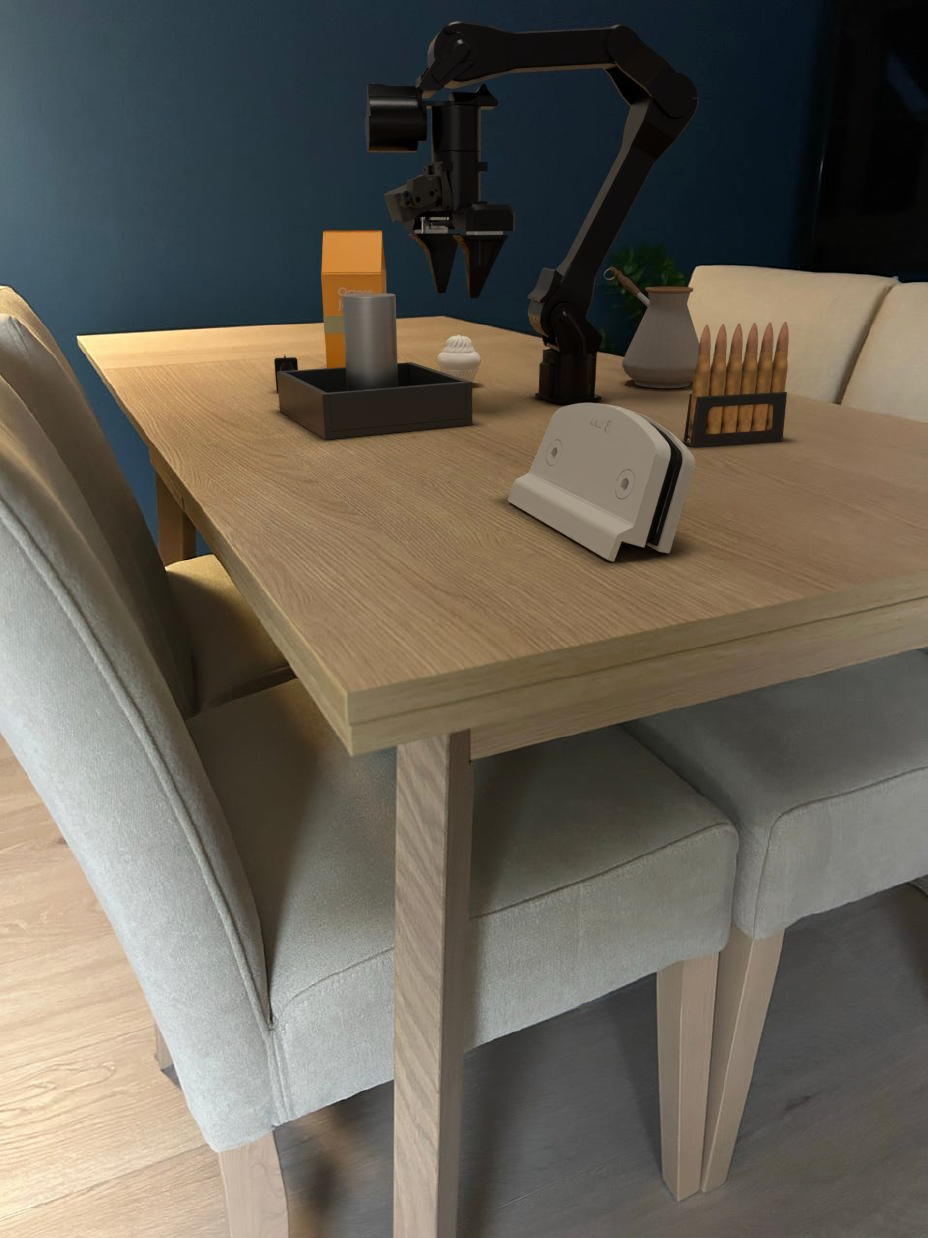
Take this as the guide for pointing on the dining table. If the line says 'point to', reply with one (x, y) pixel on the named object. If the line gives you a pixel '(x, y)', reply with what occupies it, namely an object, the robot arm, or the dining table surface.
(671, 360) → the coffee pot
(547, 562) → the dining table surface
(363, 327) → the metal can
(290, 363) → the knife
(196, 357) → the dining table surface
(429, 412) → the bin
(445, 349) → the muffin
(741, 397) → the ammunition clip
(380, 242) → the orange juice
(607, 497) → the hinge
